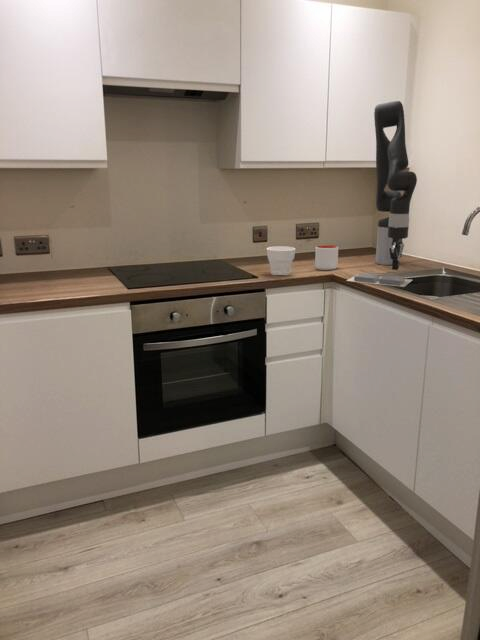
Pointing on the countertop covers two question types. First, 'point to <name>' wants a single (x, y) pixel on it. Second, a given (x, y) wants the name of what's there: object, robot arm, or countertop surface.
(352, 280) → the mat
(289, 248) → the cup
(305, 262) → the countertop surface
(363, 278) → the tile
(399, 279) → the tile
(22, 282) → the countertop surface
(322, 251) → the cup
